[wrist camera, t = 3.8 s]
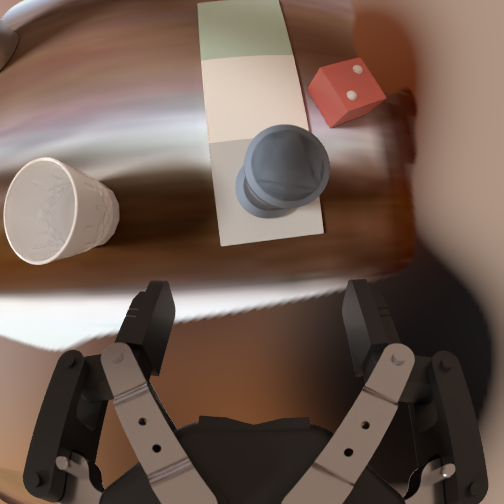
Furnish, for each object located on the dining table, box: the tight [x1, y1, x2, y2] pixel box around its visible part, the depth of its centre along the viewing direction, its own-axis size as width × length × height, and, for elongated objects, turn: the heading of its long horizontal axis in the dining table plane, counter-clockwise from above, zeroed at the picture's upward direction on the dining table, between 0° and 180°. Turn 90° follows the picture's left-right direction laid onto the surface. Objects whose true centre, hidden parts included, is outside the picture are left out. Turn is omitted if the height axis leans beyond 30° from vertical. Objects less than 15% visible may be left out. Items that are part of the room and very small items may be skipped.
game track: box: [197, 0, 324, 246], centre depth 26 cm, size 10×30×1 cm, turn 7°
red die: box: [307, 57, 386, 128], centre depth 25 cm, size 5×5×6 cm
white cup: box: [4, 157, 119, 265], centre depth 21 cm, size 8×8×10 cm
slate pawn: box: [235, 124, 330, 219], centre depth 22 cm, size 6×6×10 cm
